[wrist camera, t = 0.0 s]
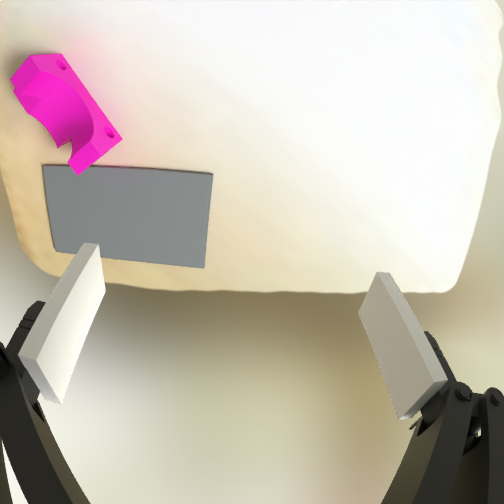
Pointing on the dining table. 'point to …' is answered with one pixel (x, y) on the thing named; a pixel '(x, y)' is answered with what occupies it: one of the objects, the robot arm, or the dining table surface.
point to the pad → (130, 212)
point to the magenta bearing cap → (64, 108)
